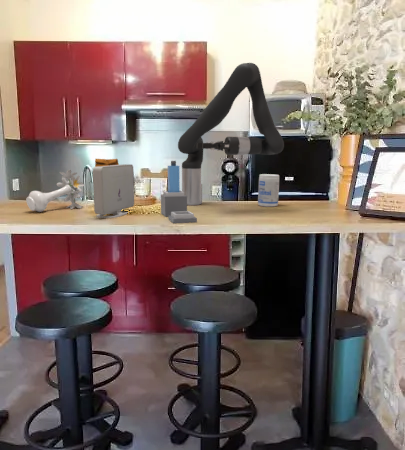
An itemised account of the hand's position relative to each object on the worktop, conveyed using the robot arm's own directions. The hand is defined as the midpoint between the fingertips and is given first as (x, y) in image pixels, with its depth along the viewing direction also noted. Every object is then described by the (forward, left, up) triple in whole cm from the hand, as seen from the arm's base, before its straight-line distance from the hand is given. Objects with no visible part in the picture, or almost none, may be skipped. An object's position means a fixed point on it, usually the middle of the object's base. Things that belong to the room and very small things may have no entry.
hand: (199, 145), depth 175 cm
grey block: (+9, -6, -28) cm, 30 cm away
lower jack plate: (+18, +6, -28) cm, 34 cm away
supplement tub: (-40, +10, -28) cm, 50 cm away
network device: (+24, -25, -28) cm, 45 cm away
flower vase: (+32, -54, -28) cm, 69 cm away
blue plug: (+9, -6, -20) cm, 23 cm away
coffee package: (+10, -46, -28) cm, 55 cm away
